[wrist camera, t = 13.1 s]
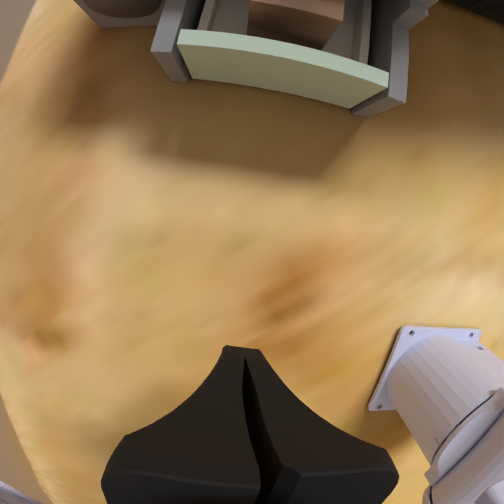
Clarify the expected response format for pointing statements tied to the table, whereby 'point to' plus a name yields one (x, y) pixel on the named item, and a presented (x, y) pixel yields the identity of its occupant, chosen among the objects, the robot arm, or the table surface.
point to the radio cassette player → (484, 7)
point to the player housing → (190, 10)
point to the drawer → (284, 56)
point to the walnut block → (295, 20)
